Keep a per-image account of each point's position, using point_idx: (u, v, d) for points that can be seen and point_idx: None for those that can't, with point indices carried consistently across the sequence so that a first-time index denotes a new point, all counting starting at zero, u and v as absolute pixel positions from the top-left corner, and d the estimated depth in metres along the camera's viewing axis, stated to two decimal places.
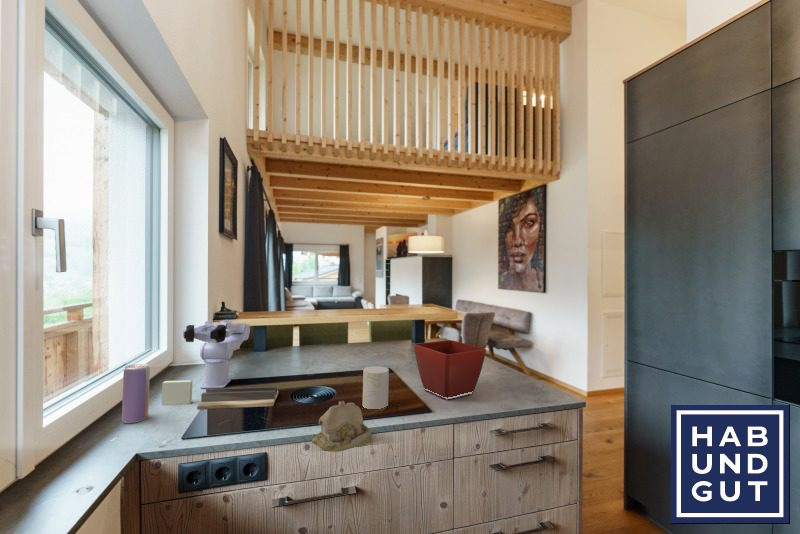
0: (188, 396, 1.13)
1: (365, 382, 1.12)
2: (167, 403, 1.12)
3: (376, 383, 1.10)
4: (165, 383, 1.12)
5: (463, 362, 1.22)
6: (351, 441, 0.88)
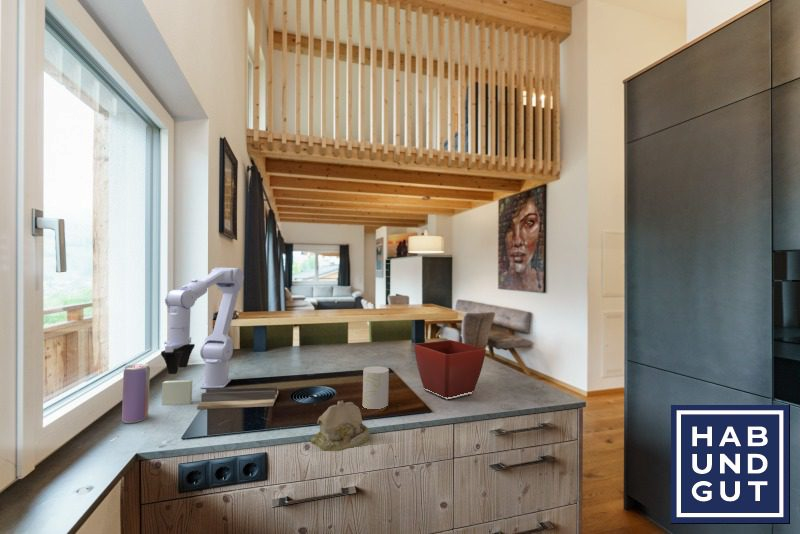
0: (188, 396, 1.13)
1: (365, 382, 1.12)
2: (167, 403, 1.12)
3: (376, 383, 1.10)
4: (165, 383, 1.12)
5: (463, 362, 1.22)
6: (350, 440, 0.88)
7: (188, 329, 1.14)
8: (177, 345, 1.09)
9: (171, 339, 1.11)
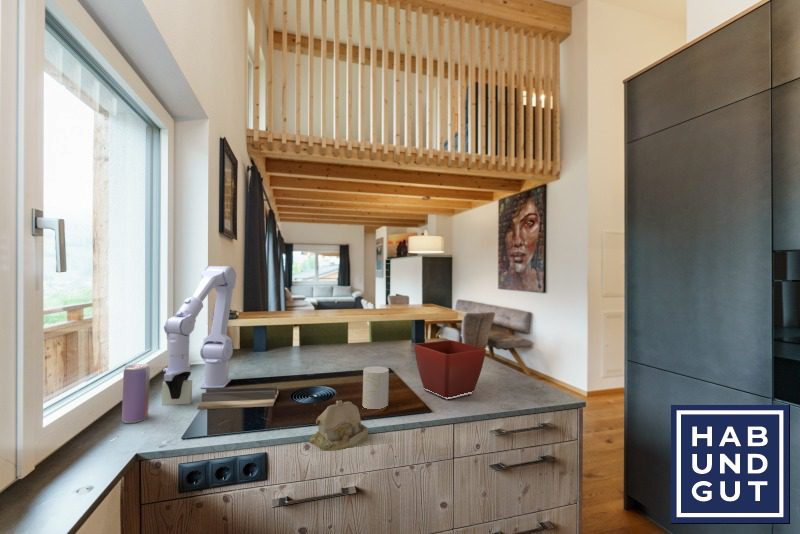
0: (188, 396, 1.13)
1: (365, 382, 1.12)
2: (167, 403, 1.12)
3: (376, 383, 1.10)
4: (165, 383, 1.12)
5: (463, 362, 1.22)
6: (349, 440, 0.89)
7: (187, 356, 1.14)
8: (176, 373, 1.09)
9: (170, 367, 1.11)
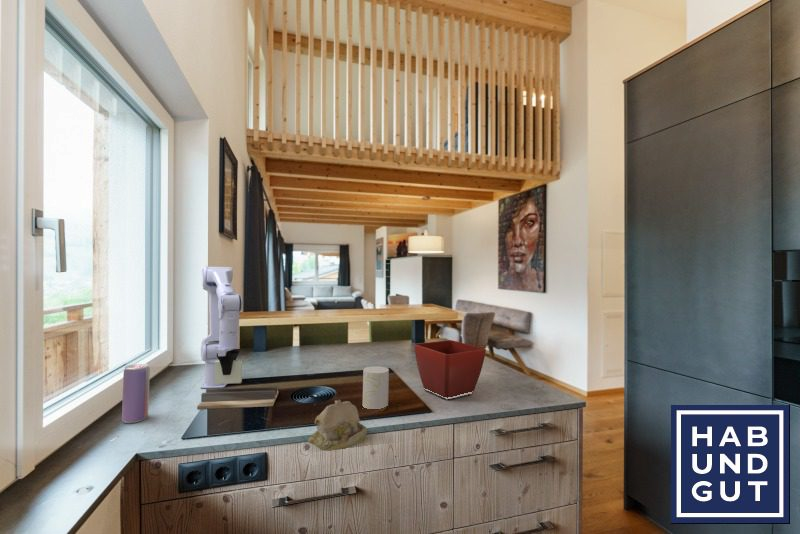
0: (239, 375, 1.16)
1: (365, 382, 1.12)
2: (219, 382, 1.15)
3: (376, 383, 1.10)
4: (217, 362, 1.15)
5: (463, 362, 1.22)
6: (348, 439, 0.89)
7: (237, 333, 1.17)
8: (229, 349, 1.12)
9: (222, 343, 1.14)
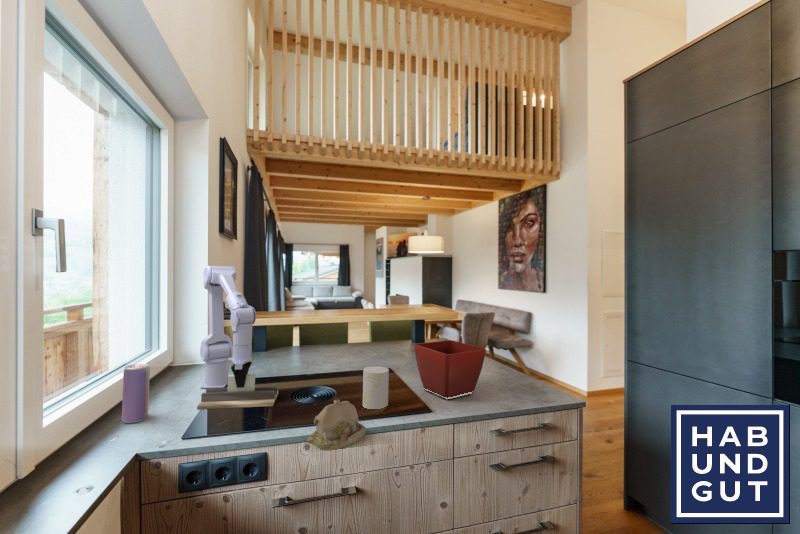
0: (252, 389, 1.17)
1: (365, 382, 1.12)
2: None
3: (376, 383, 1.10)
4: (230, 377, 1.16)
5: (463, 362, 1.22)
6: (347, 439, 0.89)
7: (251, 346, 1.18)
8: (244, 362, 1.13)
9: (236, 356, 1.15)
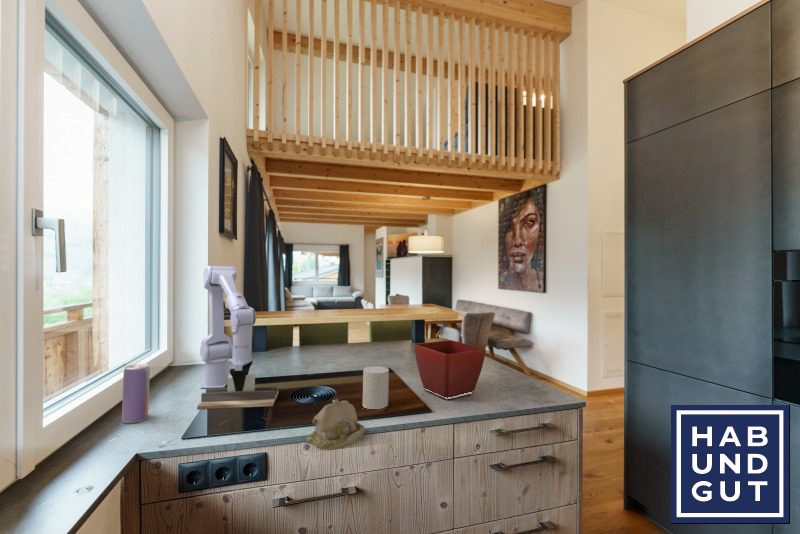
0: (252, 390, 1.17)
1: (365, 382, 1.12)
2: None
3: (376, 383, 1.10)
4: (230, 378, 1.15)
5: (463, 362, 1.22)
6: (346, 438, 0.89)
7: (251, 347, 1.18)
8: (244, 363, 1.13)
9: (236, 357, 1.15)
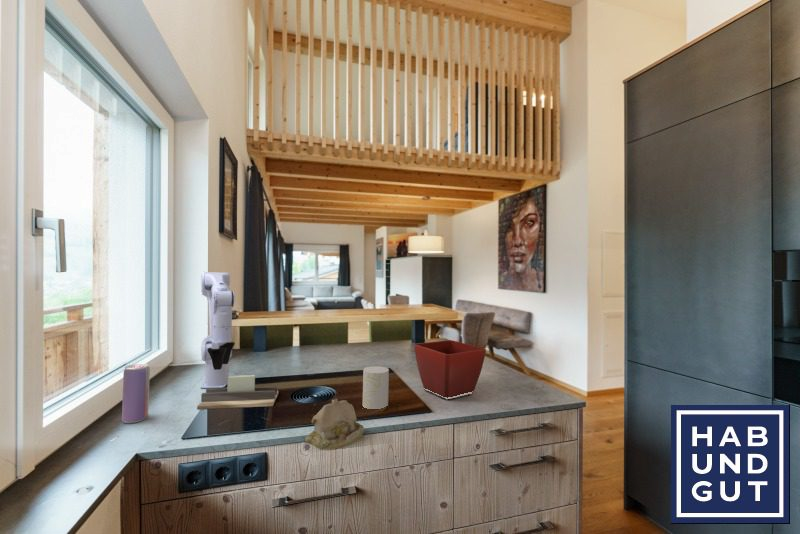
0: (252, 390, 1.17)
1: (365, 382, 1.12)
2: None
3: (376, 383, 1.10)
4: (230, 378, 1.15)
5: (463, 362, 1.22)
6: (346, 438, 0.89)
7: (230, 328, 1.22)
8: (222, 342, 1.17)
9: (215, 337, 1.19)
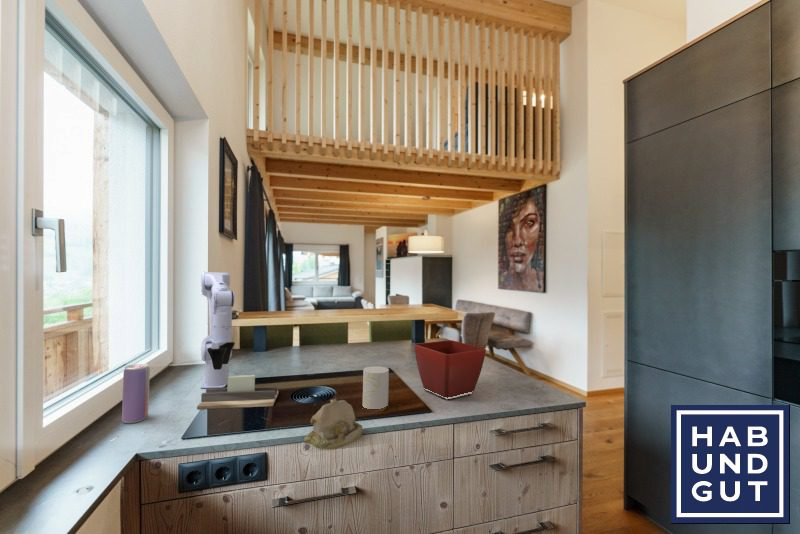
0: (252, 390, 1.17)
1: (365, 382, 1.12)
2: None
3: (376, 383, 1.10)
4: (230, 378, 1.15)
5: (463, 362, 1.22)
6: (345, 437, 0.90)
7: (230, 328, 1.22)
8: (222, 342, 1.17)
9: (215, 337, 1.19)
